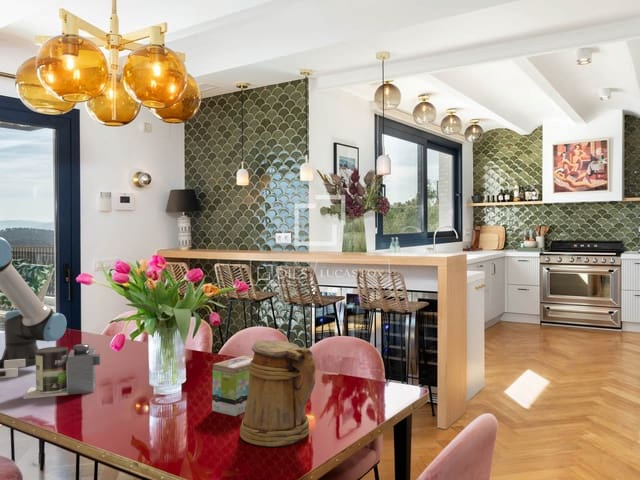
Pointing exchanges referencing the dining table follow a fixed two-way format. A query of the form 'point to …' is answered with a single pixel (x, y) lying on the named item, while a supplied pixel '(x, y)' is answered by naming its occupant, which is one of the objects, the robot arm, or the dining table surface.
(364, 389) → the dining table surface
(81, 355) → the motor block
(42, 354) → the coffee can
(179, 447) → the dining table surface
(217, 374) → the tea box
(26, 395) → the mount pad
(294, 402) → the tankard
